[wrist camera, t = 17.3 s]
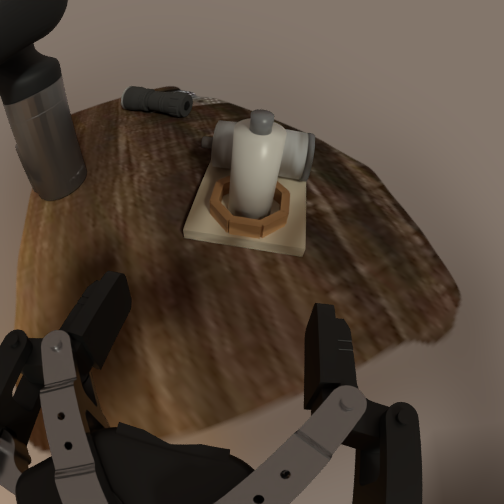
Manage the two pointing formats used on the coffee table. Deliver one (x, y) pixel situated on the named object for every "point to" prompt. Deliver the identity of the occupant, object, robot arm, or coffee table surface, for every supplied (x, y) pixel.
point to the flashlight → (157, 101)
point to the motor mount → (283, 207)
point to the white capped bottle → (255, 165)
